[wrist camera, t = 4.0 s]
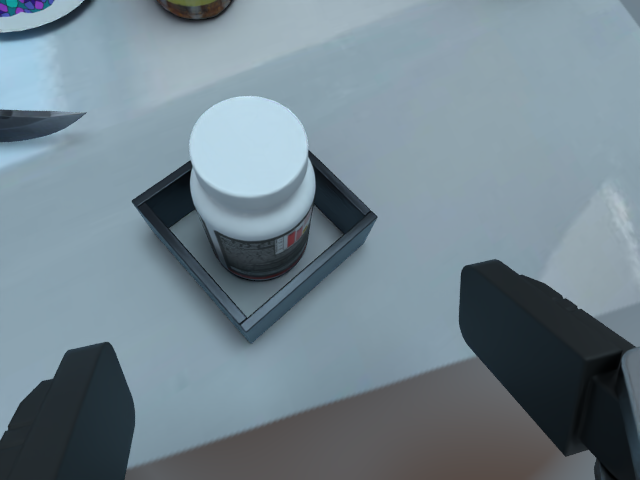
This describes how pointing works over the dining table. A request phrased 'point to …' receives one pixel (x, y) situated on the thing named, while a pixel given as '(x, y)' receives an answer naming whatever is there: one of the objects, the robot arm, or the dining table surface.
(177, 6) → the sauce bottle
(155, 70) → the dining table surface
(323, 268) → the holder
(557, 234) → the dining table surface
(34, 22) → the pudding
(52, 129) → the knife
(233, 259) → the pill bottle
